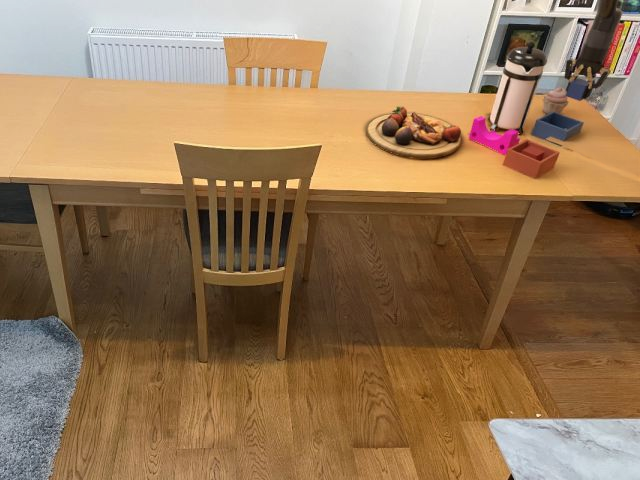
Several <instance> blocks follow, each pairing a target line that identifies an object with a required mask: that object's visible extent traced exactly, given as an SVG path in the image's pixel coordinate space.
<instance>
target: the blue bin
mask: <svg viewBox="0 0 640 480" xmlns="http://www.w3.org/2000/svg"><path fill="white" fill-rule="evenodd" d="M584 123H585V122H584V121H581V120H578V119H575V118H574V117H570V116H567V115H564V114H562V113H561V114H559V113H556V112H551V113H549V114H545V115H543V116H540V117H539V118H537V119H536V120H535V122H534V125H533V128H532V130H531V133H530V134H531V136H533V137H536V138H538V139H541V140H544V141H546V142H549V143H551V144H554V145H557V146H559V147H563V145H562V144H559V143H557V142H555V141H552V140H549V138H553V139H556V140H559V141H561V142H566V141H568V140H569V139H571V138H573V137H574V136H576V135H578V134H581V132H582V128H583V126H584Z"/></svg>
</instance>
